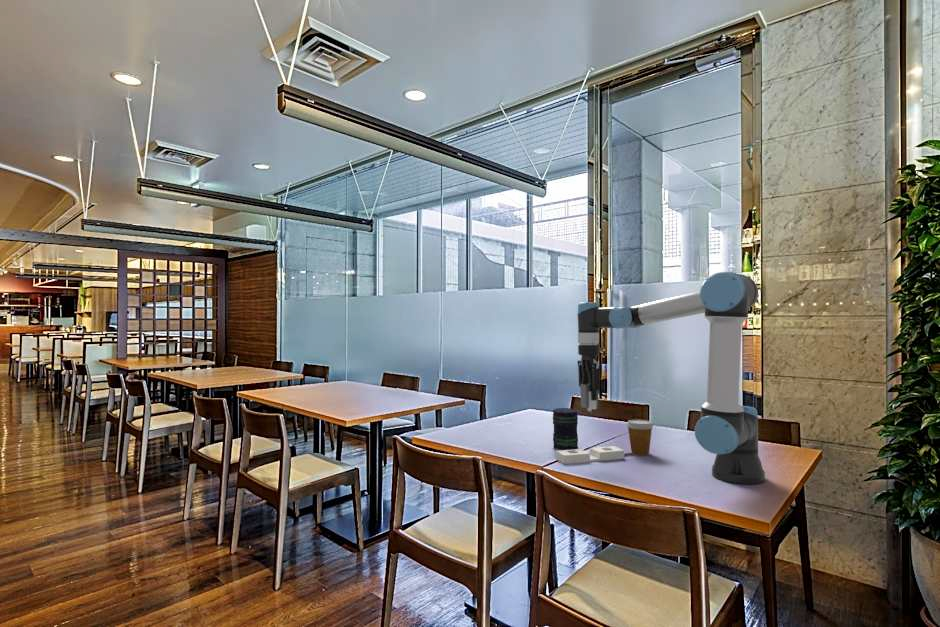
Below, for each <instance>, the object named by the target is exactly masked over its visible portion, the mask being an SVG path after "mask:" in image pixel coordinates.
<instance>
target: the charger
mask: <svg viewBox="0 0 940 627" xmlns="http://www.w3.org/2000/svg"><path fill="white" fill-rule="evenodd" d="M579 389H580V407H582V408H585V409H586V411H587V412H589V413H592V410H593V409H589V391H588V390H590V386H589V383H588V384H582V383H581V384H580V387H579ZM596 404H597V408H599V390H597V391H596Z"/></svg>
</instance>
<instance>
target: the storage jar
mask: <svg viewBox="0 0 940 627" xmlns="http://www.w3.org/2000/svg"><path fill="white" fill-rule="evenodd" d="M578 421H579V420H578V409H576V408H575V409H574V408H569V407H568V408H567V407H559V408H558V407H557V408H553V409H552V424H553V434H552V435H553V437H552V441H553V442H552V444H553V447H552V448H553V449H555V450H556V451H560V450H572V449H579V448H578V447H579V446H578V444H579V436H578V424H579V423H578Z"/></svg>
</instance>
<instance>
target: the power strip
mask: <svg viewBox="0 0 940 627" xmlns="http://www.w3.org/2000/svg"><path fill="white" fill-rule="evenodd" d="M634 455H635V454H634V453H632V452H625V450H624V449H622V448H620V447H617V446H615V445H610V446H601V447H599V446H598V447H590V448H589V452H588V451H585V450H584V449H581V448H578V449H572V450H555V460H557V461H558V462H560V463H562V464H563V465H571V464H581V463H590V462H591V463H592V462H601V461H602V462H604V461H611V460H612V461H615V460H623V459H625V456H634Z"/></svg>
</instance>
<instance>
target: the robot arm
mask: <svg viewBox="0 0 940 627" xmlns="http://www.w3.org/2000/svg"><path fill="white" fill-rule="evenodd" d="M758 295H759V288H758V285H757V283H756V282H755V281H754V280H753V279H752V278H751V277H749V276H748V275H745V274H739V273H735V272H731V271H721V272H716V273H713V274H710V275H709V276H708V277H707V278H706V279H705V280H704V281H703V283H702V285H701V286H700V290H698V291H694V292H690V293H685V294H680V295H677V296H673V297H672V296H671V297H669V298H664V299H660V300H656V301H652V302H647V303H643V304H637V305H634V306H608V307H607V306H606V307H604V306H603V307H600V305H599V303H598V302H597V301H596V302H595V301H592V302H591V301H590V302H589V301H587V302H586V301H584V302H579V303H578V305H577V315H576V316H577V329H578V330H577V331H578V332H577V343H578V345H577V347H578V348H577V350H578V351H577V353H578V355H579V356H581V359H580V360H576V361H577V366H578V369H577V370H578V386H579V388H580V384H588V383H589V386H590V390H588V391H589V409H592V410H598V409H597V408H598V407H597V404H596V391H597V390H598V391H600V390H601V366H602V363H601V362H597V361H598V360H597V356H599V355H600V345H599V343H600V333H599V332H600V329H616V330H617V329H626V328H629V329H630V328H631V329H634V328H635V329H636V328H640V327H642V326H647V325H651V324H655V323H660V322H666V321H671V320H675V319H676V320H677V319H680V318H686V317H691V316H695V315H701V314H704V318H705V319H706V320H707V321H708V322H709V337H708V338H709V339H708V340H709V341H708V361H707V365H708V366H707V387H706V388H707V389H706V390H707V391H706V400H705V401H704V402H703V403H702V404H701V406H700V418H699V419H698V421H697V422H696V424H695V426H694V436H695V440H697V443H698V444H699V445H700V446H701V447H702V448H703V449H704V450H705V451H707V452H709V453H711V454H714V455H715V458H714V462H713V465H712V466H711V475H712V476H713V478H716V479H718V480H721V481H724V482H727V483H728V482H729V483H733V484H740V485H742V484H743V485H757V484H758V485H759V484H762V483H765V481H766V471H765V470H764V469H763V468H764V467H763V465H762V460H761V459H760V456H759V423H758V422H759V416H758V410H757V409H756V408H755V407H753V406H749V405H746V406H745V405H740V403H739V398H740V396H739V394H740V375H741V374H740V373H741V348H742V326H743V323H744V322H745V321H746V320H748V318H749V317H748V316H749V308H751V307H752V306H753V305H754V304H755V303H756V301H757V299H758Z"/></svg>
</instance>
